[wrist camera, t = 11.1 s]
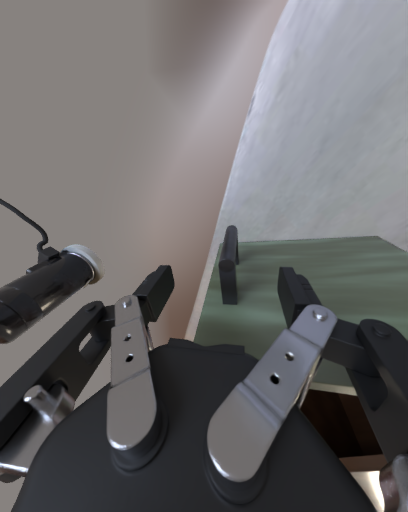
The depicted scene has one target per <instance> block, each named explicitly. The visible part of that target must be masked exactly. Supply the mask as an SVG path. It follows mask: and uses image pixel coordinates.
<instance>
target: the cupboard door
mask: <svg viewBox="0 0 408 512" xmlns="http://www.w3.org/2000/svg"><path fill="white" fill-rule="evenodd" d="M280 267H293V269H294V271H295V273H296V274H301V275H303V276H304V277H305V278H307V279H308V281H309V283H310V285H311V286H312V288H313V290H314V291H315V293H316V295H317V297H318V298H319V300H320V302H321V304H322V305H323V306H324V307H326V308H328V309H330V310H331V311H332V312H333V313H334V314H335V315H336V317H337V318H339V319H341V320H344V321H348V322H352V323H355V324H360V321H361V320H363V319H376V320H380V321H383V322H385V323H387V324H389V325H391V326H393V327H394V328H396V329H397V330H398V331H399V332H400V333H401V334H402V335H403V336H404V337H405V338H406V340H407V341H408V252H406V251H404V250H402V249H400V248H398V247H397V246H395V245H393V244H391V243H389V242H387V241H386V240H384V239H382V238H380V237H378V236H371V237H350V238H328V239H307V240H285V241H263V242H242V243H238V233H237V228H236V227H235V226H233V225H231V226H229V227H228V228H227V230H226V234H225V238H224V242H223V243H220V246H219V250H218V253H217V257H216V261H215V264H214V268H213V272H212V275H211V279H210V283H209V286H208V290H207V294H206V297H205V301H204V305H203V308H202V312H201V316H200V319H199V323H198V327H197V330H196V334H195V338H194V341H193V342H194V343H197V344H199V345H202V346H213V345H220V344H231V345H240V346H245V353H247V354H250V355H252V356H253V357H255V358H257V359H258V360H260V359H261V358H262V356H263V355H264V354H265V353H266V351H267V350H268V349H269V347H270V346H271V345H272V344H273V342H274V341H275V340H276V338H277V337H278V336H279V334H280V333H281V332H282V331H283V329H285V328H287V324H286V321H285V317H284V314H283V310H282V307H281V303H280V299H279V296H278V291H277V284H278V275H279V268H280ZM309 389H313V390H321V391H328V392H335V393H342V394H349V395H356V396H357V394H356V391H355V389H354V387H353V385H352V382H351V380H350V378H349V376H348V373H347V371H346V369H345V367H344V366H342V365H339V364H336V363H334V362H331V361H328V360H326V359H323V361H322V363H321V365H320V367H319V369H318V371H317V373H316V375H315V377H314V379H313V381H312V383H311V385H310V387H309Z"/></svg>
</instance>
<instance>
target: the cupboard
mask: <svg viewBox="0 0 408 512" xmlns="http://www.w3.org/2000/svg"><path fill="white" fill-rule="evenodd" d="M300 410H301V411H302V412H303V414H304V415H305V416H306V418H307V419H308V420H309V421H310V423H311V424H312V425H313V426H314V428H315V429H316V430H317V431H318V433H319V434H320V435H321V437H322V438H323V439H324V440H325V442H326V443H327V444H328V445H329V447H330V448H331V449H332V451H333V452H334V453H335V454H336V456H337V457H338V458H339V459H340V461H341V462H342V463H343V464H344V466H345V467H346V468H347V470H348V471H349V472H350V473H351V475H352V476H353V477H354V478H355V480H356V481H357V482H358V483H359V485H360V486H361V487H362V489H363V490H364V491H365V493H366V494H367V496H368V497H369V499H370V500H371V502H372V503H373V505H374V507H375V508H376V510H377V512H384V500H383V495H382V492H381V488H380V485H379V472H380V470H381V468H382V467H384V466H385V465H386V464H387V461H386V459H385V456H384V454H383V452H382V450H381V447H380V445H379V443H378V441H377V438H376V436H375V434H374V432H373V429H372V427H371V425H370V423H369V420H368V418H367V416H366V414H365V411H364V409H363V407H362V405H361V403H360V400H359V398H358V396H356V395H349V394H342V393H335V392H328V391H321V390H313V389H309V390H308V392H307V395H306V397H305V399H304V401H303V403H302V406H301V408H300Z"/></svg>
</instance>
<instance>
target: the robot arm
mask: <svg viewBox="0 0 408 512" xmlns="http://www.w3.org/2000/svg"><path fill="white" fill-rule="evenodd" d="M0 204H2V205H4V206H5V207H7V208H8V209H10V210H11V211H13V212H14V213H16V214H17V215H18V216H19V217H21V218H22V219H23V220H25V221H26V222H28V223H29V224H31V225H32V226H33V227H35V228H36V229H37V230H38V231H39V232H40V233H41V235H42V237H43V241H41V242H39V243H38V244H37V250H38V252H39V256H38V264H37V265H35V266H33V267H31V268H29V269H27V270H26V275H24V276H22V277H20V278H18V279H16V280H14V281H12V282H11V283H9V284H7V285H5V286H3V287H1V288H0V344H7V343H10V342H12V341H14V340H15V339H17V338H18V337H19V336H21V335H22V334H23V333H25V332H26V331H27V330H28V329H30V328H31V327H32V326H33V325H35V324H36V323H37V322H39V321H40V320H41V319H42V318H43V317H45V316H46V315H48V314H49V313H50V312H51V311H53V310H54V309H55V308H56V307H58V306H59V305H60V304H61V303H63V302H64V301H65V300H67V299H68V298H69V297H71V296H72V295H73V294H74V293H76V292H77V291H78V290H80V289H81V288H82V287H83V286H84V287H86V285H87V284H88V283H89V282H90V281H92V280H93V279H94V278H95V274H96V273H95V269H94V267H93V265H92V263H91V262H90V261H89V260H88V259H87V258H86V257H84V256H83V255H81V254H79V253H76V252H69V251H67V250H65V251H63V252H61V253H60V252H58V251H57V250H55V249H54V248H52V247H48V248H46V249H42V246H43V245H45V244H46V243H48V237H47V234H46V232H45V231H44V230H43V229H42V228H41V227H40V226H39V225H38V224H36V223H35V222H34V221H32V220H31V219H29V218H28V217H26V216H25V215H24V214H23V213H21V212H20V211H19V210H17V209H16V208H15V207H13V206H12V205H10V204H8V203H7V202H5V201H3V200H2V199H0ZM173 289H174V278H173V274H172V269H171V266H169V265H160V266H159V267H158V269H157V270H156V271H154V272H152V273H151V274H149V275H148V276H147V277H146V279H145V280H144V281H143V282H142V284H141V285H140V286H139V287H138V288H137V290H136V291H135V292H134V293H133V294H132V295H128V296H125V297H123V298H121V299H120V300H118V301H117V303H116V304H115V305H111V306H106V307H105V306H104V305H103V303H102V302H101V301H94V302H91V303H88V304H87V305H85V306H83V307H82V308H81V309H80V310H79V311H78V312H77V313H76V314H75V315H74V316H73V317H72V318H71V319H70V320H69V321H68V322H67V323H66V324H65V325H64V326H63V327H62V328H61V329H60V330H59V331H57V333H55V334H54V335H53V336H52V337H51V338H50V339H49V341H47V342H46V343H45V344H44V345H43V346H42V347H41V348H40V349H39V350H38V351H37V352H36V353H35V354H34V355H33V356H32V357H31V358H30V359H29V360H28V361H27V362H26V363H25V364H24V365H23V366H22V367H21V368H20V369H19V370H17V372H15V373H14V374H13V375H12V376H11V377H10V378H9V379H8V380H7V381H6V382H5V383H4V384H3V385H2V386H1V387H0V481H2V482H5V483H10V482H13V481H15V480H17V479H19V478H20V477H21V476H22V477H25V480H24V483H23V486H22V488H21V490H20V493H19V495H18V497H17V500H16V502H15V504H14V506H13V508H12V510H11V512H377V510H376V508H375V507H374V505H373V503H372V502H371V500H370V499H369V497H368V496H367V494H366V493H365V491H364V490H363V489H362V487H361V486H360V485H359V483H358V482H357V481H356V480H355V478H354V477H353V476H352V475H351V473H350V472H349V471H348V470H347V468H346V467H345V466H344V464H343V463H342V462H341V461H340V459H339V458H338V457H337V456H336V454H335V453H334V452H333V451H332V449H331V448H330V447H329V445H328V444H327V443H326V442H325V440H324V439H323V438H322V437H321V435H320V434H319V433H318V431H317V430H316V429H315V428H314V426H313V425H312V424H311V423H310V421H309V420H308V419H307V418H306V416H305V415H304V414H303V412H302V411H301V410H300V408H301V406H302V403H303V401H304V399H305V397H306V395H307V392H308V390H309V387H310V385H311V383H312V381H313V379H314V377H315V375H316V373H317V371H318V369H319V367H320V365H321V363H322V361H323V359H326V360H328V361H331V362H334V363H336V364H339V365H342V366H344V367H345V369H346V371H347V373H348V376H349V378H350V380H351V382H352V385H353V387H354V389H355V391H356V394H357V396H358V398H359V400H360V403H361V405H362V407H363V409H364V411H365V414H366V416H367V418H368V420H369V423H370V425H371V427H372V429H373V432H374V434H375V436H376V438H377V441H378V443H379V445H380V447H381V450H382V452H383V454H384V456H385V459H386V461H387V464H386V465H385V466H384V467H382V468H381V470H380V472H379V485H380V488H381V492H382V495H383V500H384V512H408V341H407V340H406V338H405V337H404V336H403V335H402V334H401V333H400V332H399V331H398V330H397V329H396V328H394V327H393V326H391V325H389V324H387V323H385V322H383V321H380V320H376V319H363V320H361V321H360V324H355V323H352V322H348V321H344V320H341V319H339V318H337V317H336V315H335V314H334V313H333V312H332V311H331V310H330V309H328V308H326V307H324V306H323V305H322V304H321V302H320V300H319V298H318V297H317V295H316V293H315V291H314V290H313V288H312V286H311V285H310V283H309V281H308V279H307V278H305V277H304V276H303V275H301V274H296V273H295V271H294V269H293V267H280V268H279V275H278V284H277V291H278V296H279V299H280V303H281V307H282V310H283V314H284V317H285V321H286V324H287V328H285V329H283V331H282V332H281V333H280V334H279V336H278V337H277V338H276V340H275V341H274V342H273V344H272V345H271V346H270V347H269V349H268V350H267V351H266V353H265V354H264V355H263V356H262V358H261V359H260V360H258V359H257V358H255V357H253V356H252V355H250V354H247V353H245V346H240V345H231V344H220V345H213V346H202V345H199V344H197V343H194V342H191V341H189V340H184V339H175V338H170V340H169V342H168V344H165V345H162V346H159V347H157V348H155V349H154V348H153V343H152V339H151V336H150V332H149V327H148V323H149V322H156V321H157V319H158V317H159V315H160V314H161V312H162V310H163V308H164V306H165V304H166V302H167V301H168V299H169V297H170V295H171V293H172V291H173ZM88 333H90V334H91V336H92V338H91V339H90V340H89V341H88V343H87V344H86V345H85V346H84V348H83V349H82V350H81V351H80V352H79V345H80V343H81V341H82V340H83V339H84V338H85V337H86V336H87V334H88ZM110 347H111V382H109V383H108V384H107V385H106V386H104V387H103V388H102V389H101V390H99V391H98V392H97V393H95V394H94V395H93V396H91V397H90V398H89V399H88V400H86V401H85V402H84V403H82V404H81V405H80V406H79V407H77V408H76V409H75V410H73V409H74V405H75V401H76V399H77V398H78V396H79V395H80V393H81V391H82V390H83V388H84V387H85V385H86V384H87V382H88V381H89V379H90V378H91V376H92V375H93V373H94V371H95V370H96V368H97V367H98V365H99V364H100V362H101V361H102V359H103V358H104V356H105V355H106V353H107V351H108V350H109V348H110Z"/></svg>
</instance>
